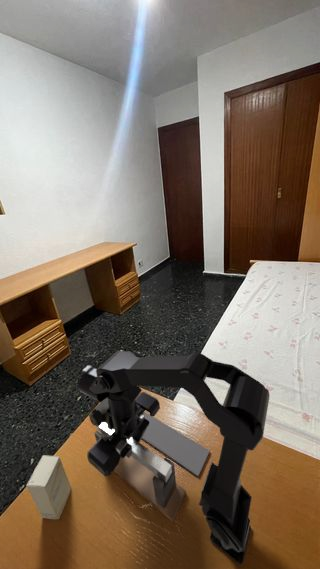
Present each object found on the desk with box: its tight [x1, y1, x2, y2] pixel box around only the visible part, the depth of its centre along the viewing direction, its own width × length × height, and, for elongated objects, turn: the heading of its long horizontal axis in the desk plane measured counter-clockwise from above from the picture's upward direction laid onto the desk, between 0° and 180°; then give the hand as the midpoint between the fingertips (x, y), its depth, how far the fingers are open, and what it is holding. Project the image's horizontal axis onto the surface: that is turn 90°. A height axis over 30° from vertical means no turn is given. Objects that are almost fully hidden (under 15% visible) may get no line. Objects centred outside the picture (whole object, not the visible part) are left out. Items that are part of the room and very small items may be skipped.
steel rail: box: [96, 422, 172, 482], centre depth 55 cm, size 22×2×2 cm, turn 55°
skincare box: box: [25, 454, 72, 520], centre depth 52 cm, size 6×4×12 cm
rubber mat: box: [141, 411, 211, 478], centre depth 67 cm, size 28×7×1 cm, turn 55°
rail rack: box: [94, 430, 187, 522], centre depth 57 cm, size 26×6×10 cm, turn 55°
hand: (131, 451), depth 56 cm, fingers closed on steel rail, 2 cm apart
